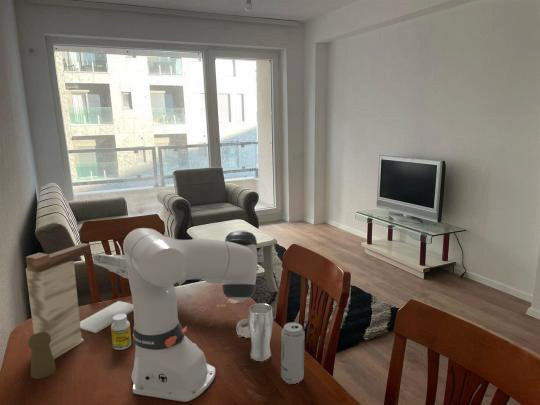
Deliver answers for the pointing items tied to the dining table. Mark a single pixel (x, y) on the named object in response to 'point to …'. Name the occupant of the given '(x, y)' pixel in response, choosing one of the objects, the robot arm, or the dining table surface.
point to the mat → (105, 316)
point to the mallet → (55, 257)
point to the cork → (41, 355)
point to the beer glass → (260, 330)
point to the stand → (55, 306)
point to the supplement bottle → (121, 332)
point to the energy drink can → (292, 353)
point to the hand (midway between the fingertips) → (104, 258)
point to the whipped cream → (243, 328)
